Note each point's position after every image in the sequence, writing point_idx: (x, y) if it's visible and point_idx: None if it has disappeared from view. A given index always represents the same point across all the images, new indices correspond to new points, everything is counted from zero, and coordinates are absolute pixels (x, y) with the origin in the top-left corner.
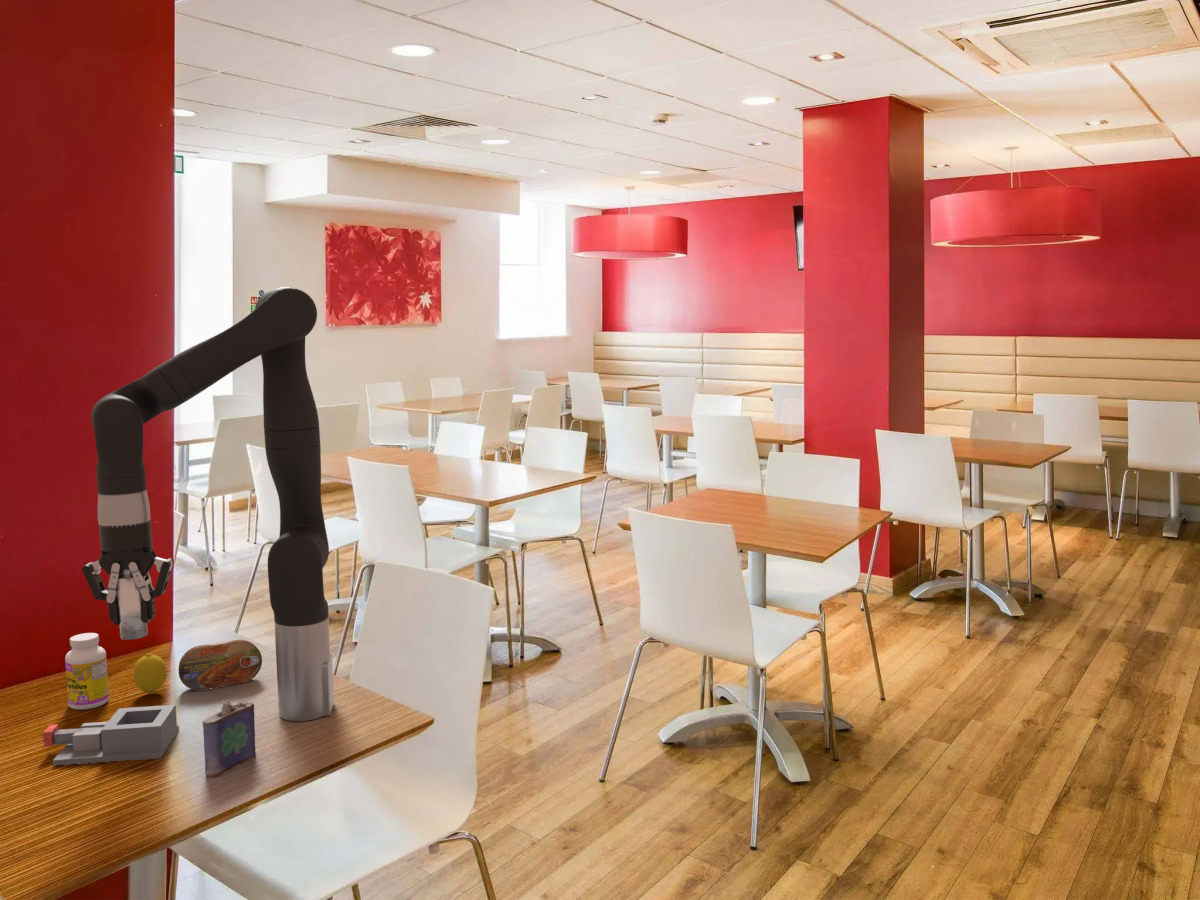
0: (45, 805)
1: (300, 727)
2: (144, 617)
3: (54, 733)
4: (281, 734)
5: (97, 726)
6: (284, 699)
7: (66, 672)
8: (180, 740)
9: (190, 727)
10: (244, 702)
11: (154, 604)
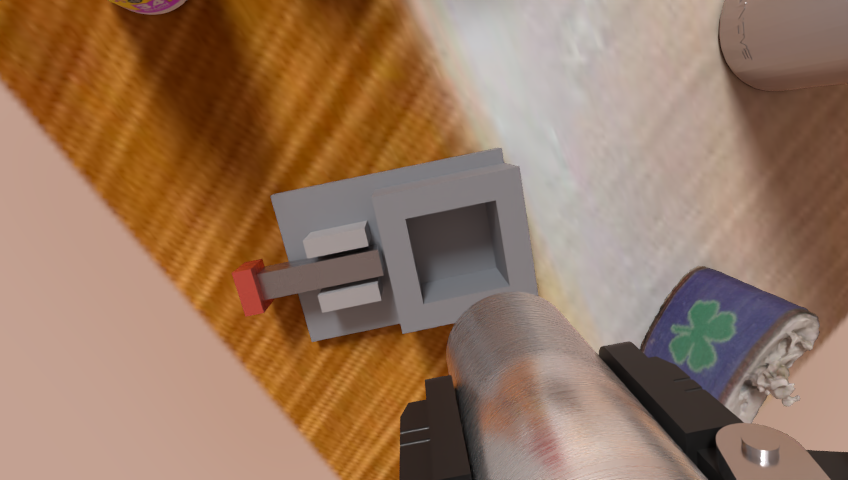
0: (399, 471)
1: (782, 122)
2: None
3: (264, 295)
4: (745, 164)
5: (346, 250)
6: (788, 74)
7: None
8: (525, 203)
9: (518, 127)
10: (799, 324)
11: (723, 413)
